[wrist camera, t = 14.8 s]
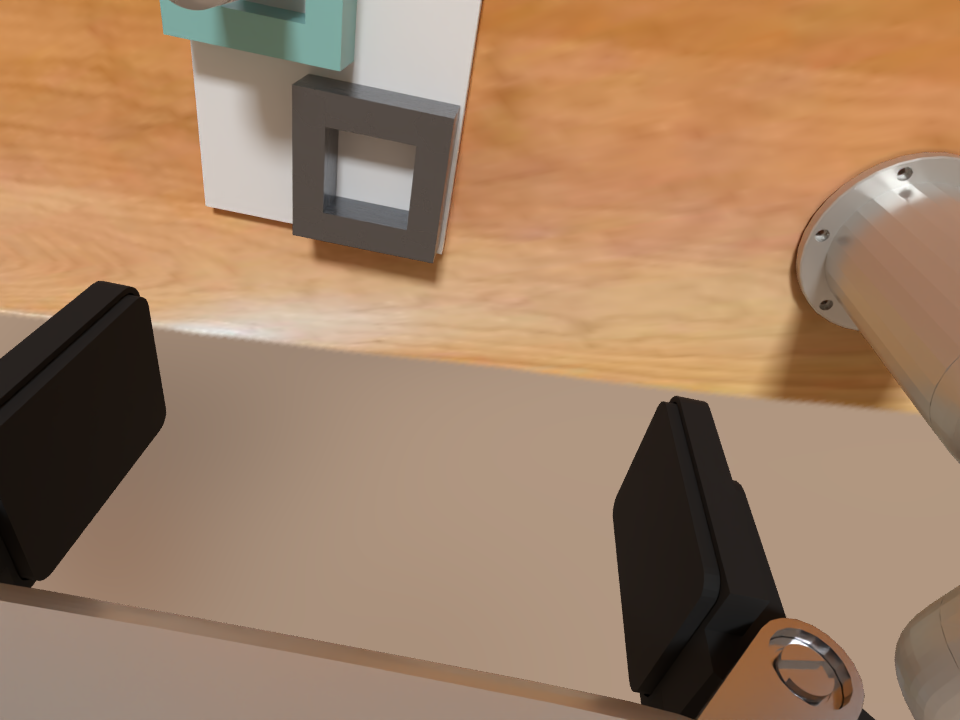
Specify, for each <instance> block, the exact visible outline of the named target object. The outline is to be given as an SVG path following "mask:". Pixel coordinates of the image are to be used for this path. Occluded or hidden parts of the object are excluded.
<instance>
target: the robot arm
mask: <svg viewBox="0 0 960 720" xmlns="http://www.w3.org/2000/svg"><path fill="white" fill-rule="evenodd" d="M901 169H902V170H901ZM900 170H901V171H900ZM899 171H900V172H899ZM820 230H821V231H820ZM818 231H820V232H819V233H817V232H818ZM796 272H797V280H798V283H799V286H800V288H801V291H802V293H803V295H804V296H805V298H806V299H807V301H808V303H809V304H810V305H811V307H812V308H813V309H814V310H815V311H816V312H817V313H818V314H819V315H821V316H822V317H823V318H825V319H826V320H828V321H829V322H831V323H833V324H836V325H838V326H841V327H843V328H847V329H852V330H857V331H860V332H861V333H862V335H863V336H864V337H865V339H866V340H867V341H868V343H869V344H870V345H871V347H872V348H873V350H874V351H875V352H876V354H877V355H878V356H879V358H880V359H881V360H882V362H883V363H884V365H885V366H886V367H887V369H888V370H889V371H890V373H891V374H892V375H893V377H894V378H895V380H896V381H897V382H898V384H899V385H900V386H901V388H902V389H903V390H904V392H905V393H906V395H907V396H908V397H909V399H910V400H911V401H912V403H913V404H914V405H915V407H916V408H917V410H918V411H919V412H920V414H921V415H922V416H923V418H924V419H925V420H926V422H927V423H928V424H929V426H930V427H931V428H932V430H933V431H934V433H935V434H936V435H937V436H938V438H939V439H940V440H941V442H942V443H943V444H944V446H945V447H946V448H947V450H948V451H949V452H950V453H951V454H952V456H953V457H954V458H955V459H956V460H957V461H958V462H959V463H960V155H955V154H951V153H946V152H924V153H917V154H911V155H905V156H901V157H898V158H895V159H892V160H889V161H885V162H882V163H880V164H878V165H876V166H874V167H872V168H870V169H868V170H866V171H864V172H862V173H860V174H859V175H857V176H856V177H854V178H853V179H851V180H850V181H848V182H847V183H845V184H844V185H842V186H841V187H840V188H839V189H838V190H837V191H836V192H835V193H834V194H832V195H831V196H830V197H829V198H828V199H827V200H826V201H825V202H824V203H823V205H822V206H821V207H820V208H819V210H818V211H817V212H816V213H815V214H814V216H813V217H812V219H811V221H810V223H809V224H808V226H807V228H806V229H805V231H804V233H803V236H802V239H801V242H800V244H799V247H798V252H797V259H796ZM165 416H166V406H165V401H164V395H163V389H162V383H161V377H160V371H159V365H158V359H157V353H156V347H155V342H154V336H153V329H152V323H151V317H150V311H149V305H148V302H147V300H146V299H145V298H143V297H140V295H139V292H138V291H137V289H135V288H133V287H130V286H125V285H120V284H115V283H110V282H105V281H97V282H95V283H94V284H92V285H91V286H90V287H88V288H87V289H86V290H85V291H84V292H82V293H81V294H80V295H79V296H77V297H76V298H75V299H74V300H72V301H71V302H70V303H69V304H67V305H66V306H65V307H64V308H62V309H61V310H60V311H59V312H58V313H56V314H55V315H54V316H53V317H51V318H50V319H49V320H48V321H46V322H45V323H44V324H43V325H42V326H40V327H39V328H38V329H37V330H35V331H34V332H33V333H32V334H30V335H29V336H28V337H27V338H25V339H24V340H23V341H22V342H20V343H19V344H18V345H17V346H15V347H14V348H13V349H12V350H10V351H9V352H8V353H7V354H6V355H5V356H3V357H2V358H1V359H0V720H875V719H874V718H873V717H871V716H870V715H869V714H868V713H867V712H866V711H865V710H863V709H862V707H863V702H864V696H865V695H864V689H863V684H862V680H861V678H860V675H859V673H858V671H857V670H856V667H855V665H854V663H853V662H852V661H851V659H850V658H849V657H848V656H847V654H846V653H845V651H844V650H843V649H842V648H841V647H840V646H839V645H838V644H837V643H836V642H835V641H834V640H832V639H831V638H830V637H829V636H828V635H827V634H825V633H823V632H822V631H820V630H819V629H817V628H816V627H814V626H813V625H810V624H807V623H805V622H802V621H800V620H797V619H789V618H786V616H785V613H784V610H783V607H782V603H781V600H780V598H779V594H778V591H777V588H776V586H775V583H774V579H773V576H772V573H771V570H770V567H769V564H768V561H767V558H766V555H765V552H764V549H763V546H762V543H761V540H760V537H759V534H758V531H757V528H756V525H755V522H754V519H753V516H752V513H751V510H750V507H749V504H748V501H747V498H746V495H745V492H744V490H743V488H742V486H741V485H740V484H739V483H738V482H737V481H734V480H732V477H731V474H730V471H729V467H728V464H727V462H726V458H725V455H724V452H723V449H722V445H721V442H720V439H719V436H718V433H717V430H716V427H715V423H714V420H713V417H712V414H711V411H710V408H709V406H708V404H707V403H706V402H704V401H699V400H694V399H689V398H684V397H679V396H674V397H673V398H672V399H671V400H670V402H661V403H660V404H659V406H658V407H657V410H656V412H655V414H654V417H653V418H652V421H651V423H650V425H649V427H648V429H647V431H646V434H645V436H644V438H643V440H642V442H641V444H640V446H639V449H638V451H637V453H636V455H635V457H634V459H633V462H632V464H631V466H630V468H629V470H628V473H627V475H626V477H625V479H624V481H623V483H622V485H621V488H620V490H619V492H618V494H617V496H616V499H615V503H614V508H613V522H614V533H615V543H616V553H617V562H618V573H619V583H620V592H621V603H622V612H623V623H624V633H625V643H626V653H627V663H628V672H629V682H630V687H631V689H632V691H633V692H638V693H640V698H641V704H637V703H633V702H630V701H625V700H620V699H615V698H611V697H606V696H601V695H596V694H592V693H587V692H582V691H577V690H573V689H568V688H563V687H558V686H553V685H549V684H544V683H539V682H534V681H529V680H524V679H519V678H513V677H508V676H503V675H498V674H493V673H487V672H482V671H477V670H472V669H466V668H461V667H456V666H451V665H446V664H440V663H435V662H430V661H425V660H420V659H414V658H409V657H404V656H399V655H393V654H388V653H382V652H377V651H372V650H367V649H362V648H356V647H351V646H346V645H340V644H334V643H330V642H324V641H318V640H314V639H308V638H303V637H298V636H292V635H286V634H281V633H276V632H271V631H265V630H259V629H255V628H249V627H244V626H238V625H233V624H227V623H222V622H217V621H211V620H206V619H200V618H195V617H190V616H184V615H178V614H173V613H168V612H162V611H157V610H150V609H145V608H140V607H134V606H129V605H123V604H117V603H112V602H107V601H101V600H95V599H90V598H85V597H79V596H74V595H68V594H63V593H57V592H51V591H46V590H40V589H34V588H31V587H32V586H33V584H34V583H35V582H36V580H38V581H41V580H44V579H45V578H47V577H48V576H49V575H50V574H51V573H52V572H53V570H54V569H55V568H56V566H57V565H58V564H59V563H60V561H61V560H62V559H63V557H64V556H65V555H66V553H67V552H68V551H69V549H70V548H71V547H72V545H73V544H74V543H75V542H76V540H77V539H78V538H79V536H80V535H81V533H82V532H83V531H84V529H85V528H86V527H87V526H88V524H89V523H90V522H91V520H92V519H93V517H94V516H95V515H96V513H98V511H99V510H100V508H101V507H102V506H103V505H104V503H105V502H106V500H107V499H108V498H109V496H110V495H111V494H112V493H113V491H114V490H115V489H116V487H117V486H118V485H119V483H120V482H121V481H122V479H123V478H124V477H125V476H126V474H127V473H128V471H129V470H130V469H131V468H132V466H133V465H134V464H135V462H136V461H137V460H138V458H139V457H140V456H141V455H142V453H143V452H144V450H145V449H146V448H147V447H148V445H149V444H150V443H151V441H152V440H153V439H154V437H155V436H156V435H157V433H158V432H159V431H160V429H161V428H162V426H163V424H164V421H165ZM895 667H896V674H897V679H898V682H899V685H900V688H901V691H902V694H903V696H904V699H905V701H906V703H907V705H908V707H909V709H910V711H911V713H912V715H913V717H914V719H915V720H960V585H959V586H958V587H956V588H954V589H953V590H951V591H950V592H948V593H947V594H945V595H944V596H942V597H941V598H939V599H938V600H936V601H935V602H933V603H932V604H930V605H929V606H928V607H926V608H925V609H924V610H922V611H921V612H920V613H918V614H917V615H916V616H915V617H914V618H913V619H912V620H911V621H910V622H909V623H908V624H907V626H906V627H905V628H904V630H903V631H902V633H901V635H900V638H899V640H898V642H897V645H896V652H895Z"/></svg>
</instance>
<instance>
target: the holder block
mask: <svg viewBox="0 0 960 720" xmlns="http://www.w3.org/2000/svg"><path fill="white" fill-rule="evenodd" d="M459 113H460V105H455V104H450V103H445V102H441V101H436V100H431V99H426V98H422V97H417V96H412V95H407V94H403V93H398V92H393V91H389V90H384V89H379V88H374V87H370V86H365V85H360V84H355V83H351V82H346V81H341V80H337V79H332V78H327V77H322V76H318V75H313V74H307V75H306V76H304V77H303V78H301V79H300V80H298V81H297V82H295V83H294V84H292V202H293V235H296V236H301V237H306V238H311V239H316V240H321V241H325V242H330V243H335V244H340V245H345V246H350V247H355V248H360V249H365V250H370V251H375V252H379V253H384V254H389V255H394V256H399V257H404V258H409V259H414V260H419V261H424V262H428V263H433V262H434V259H435V256H436V253H437V251H438V248H439V245H440V239H441V232H442V225H443V219H444V212H445V206H446V199H447V192H448V186H449V179H450V173H451V166H452V159H453V153H454V146H455V139H456V133H457V126H458V120H459ZM339 130H342V131H347V132H352V133H357V134H362V135H366V136H371V137H376V138H381V139H385V140H390V141H395V142H400V143H405V144H409V145H414V146H416V154H415V163H414V172H413V180H412V189H411V198H410V207H409V211H407V210H403V209H398V208H393V207H388V206H383V205H378V204H373V203H369V202H364V201H359V200H354V199H349V198H344V197H339V196H336V188H337V163H338V137H339Z"/></svg>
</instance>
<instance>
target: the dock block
mask: <svg viewBox="0 0 960 720" xmlns="http://www.w3.org/2000/svg"><path fill="white" fill-rule="evenodd" d="M160 7H161V15H162V24H163V33H164V34H166V35H170V36H175V37H180V38H185V39H189V40H194V41H199V42H204V43H208V44H213V45H218V46H222V47H227V48H232V49H237V50H241V51H246V52H251V53H256V54H260V55H265V56H270V57H274V58H279V59H284V60H289V61H293V62H298V63H303V64H307V65H312V66H317V67H322V68H326V69H331V70H336V71H341V70H343V69H344V68H345V67H347V66H348V65H349V64H351V63H352V62H353V61H354V49H355V29H356V9H357V0H306V2H305V13H300V12H296V11H291V10H286V9H282V8H277V7H272V6H268V5H263V4H258V3H254V2H249V1H244V0H238V1H234V2H231V3H227V4H224V5H220V6H216V7H213V8H209V9H205V10H189V9H185V8H182V7H180V6H178V5H176V4H174V3H172V2H171V1H169V0H160Z"/></svg>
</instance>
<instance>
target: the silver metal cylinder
mask: <svg viewBox="0 0 960 720" xmlns="http://www.w3.org/2000/svg"><path fill="white" fill-rule="evenodd" d="M169 1H171V2H172V3H174V4H176V5H178V6H180V7H182V8H185V9H189V10H205V9H209V8H213V7H216V6H220V5H224V4H227V3H231V2H234V1H238V0H169Z"/></svg>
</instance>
